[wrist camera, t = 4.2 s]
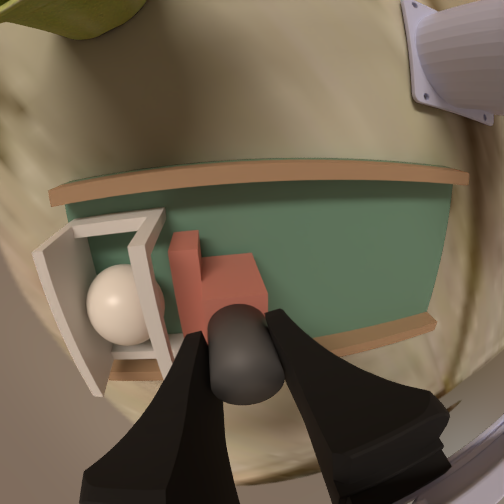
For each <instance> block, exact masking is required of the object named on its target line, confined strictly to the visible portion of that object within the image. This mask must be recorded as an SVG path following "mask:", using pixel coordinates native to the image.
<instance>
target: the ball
mask: <svg viewBox="0 0 504 504" xmlns="http://www.w3.org/2000/svg"><path fill="white" fill-rule="evenodd" d="M156 285H157V290H158V295H159V299H160V304H161V308H162V313H163V317H164V311H165V302H164V296H163V293H162V290H161V288H160V286H159V284H158V283H157V281H156ZM86 307H87V313H88V317H89V319H90V322H91V324H92V325H93V327H94V329H95V330H96V331H97V332H98V333H99V334H100V335H101V336H102V337H103V338H105V339H106V340H108V341H110V342H112V343H114V344H117V345H122V346H132V345H137V344H140V343H143V342H144V341H146V340H148V339H149V338H150V337H149V333H148V330H147V327H146V323H145V319H144V316H143V312H142V308H141V305H140V301H139V297H138V293H137V289H136V285H135V280H134V276H133V272H132V267H131V265H130V264H118V265H114V266H111V267H108V268H106V269H105V270H103V271H102V272H100V273H99V274H98V275H97V276H96V278H95V279H94V280H93V282H92V283H91V285H90V287H89V290H88V293H87V299H86Z"/></svg>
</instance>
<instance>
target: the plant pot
mask: <svg viewBox="0 0 504 504" xmlns="http://www.w3.org/2000/svg"><path fill="white" fill-rule="evenodd" d="M146 1H147V0H0V23H3V22H10V23H15V24H20V25H24V26H28V27H32V28H36V29H40V30H44V31H47V32H51V33H54V34H58V35H61V36H64V37H66V38H70V39H75V40H83V39H90V38H94V37H98V36H100V35H101V34H103V33H105V32H107V31H109V30H111V29H113V28H115V27H117V26H119V25H122V24H124V23H125V22H126V21H128V20H129V19H130V18H132V17H133V16H134V15H135V14H136V13H137V12H138V11H139V10H140V9H141V7H142V6H143V5H144V4H145V2H146Z"/></svg>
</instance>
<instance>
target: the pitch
mask: <svg viewBox="0 0 504 504" xmlns="http://www.w3.org/2000/svg"><path fill="white" fill-rule="evenodd" d="M468 183H469V173H467V172H463V171H460V170H456V169H452V168H448V167H444V166H436V165H428V164H418V163H408V162H396V161H383V160H366V159H342V158H270V159H245V160H227V161H213V162H201V163H190V164H180V165H171V166H162V167H154V168H146V169H139V170H132V171H125V172H119V173H113V174H107V175H101V176H96V177H90V178H85V179H80V180H75V181H70V182H67V183H65V184H63V185H60V186H58V187H55V188H53V189H51V190H49V191H48V192H49V198H50V204H51V207H54V206H59V205H64V204H65V208H66V213H67V218H68V223H69V222H70V221H72V220H73V219H77V218H83V217H90V216H97V215H104V214H111V213H119V212H126V211H134V210H143V209H151V208H160V207H165V212H166V221H165V223H164V225H163V227H162V230H161V232H160V234H159V237H158V239H157V241H156V243H155V246H154V248H153V251H152V253H151V260H152V265H153V270H154V275H155V280H156V281H157V283H158V284H159V286H160V288H161V290H162V293H163V296H164V302H165V311H164V321H165V325H166V329H167V333H168V334H177V333H183V332H182V327H181V322H180V317H179V312H178V307H177V302H176V297H175V292H174V286H173V281H172V275H171V269H170V263H169V257H168V249H169V246H170V242H171V239H172V236H173V233H174V232H181V231H192V230H199V238H200V248H201V257H211V256H222V255H232V254H243V253H252V255H253V257H254V260H255V262H256V265H257V267H258V270H259V272H260V275H261V277H262V280H263V282H264V285H265V287H266V290H267V292H268V312H269V311H273V310H276V309H279V308H280V309H283V310H284V311H285V313H286V314H287V315H288V316H289V317H290V318H291V319H292V320H293V321H294V322H295V323H296V324H297V325H298V326H299V327H300V328H301V329H302V330H303V331H304V332H305V333H307V334H308V335H309V336H310V337H311V338H313V339H314V340H315V341H317V342H318V343H319V344H320V345H322V346H323V347H325V348H326V349H327V350H329V351H330V352H332V353H333V354H335V355H337V356H338V357H342V356H346V355H351V354H355V353H359V352H363V351H367V350H370V349H374V348H378V347H381V346H385V345H389V344H392V343H395V342H399V341H402V340H405V339H409V338H412V337H415V336H418V335H421V334H424V333H427V332H430V331H433V330H434V329H435V326H436V324H437V321H436V320H435V319H434V318H433V317H432V316H431V315H430V314H428V313H427V309H428V305H429V302H430V299H431V295H432V292H433V288H434V284H435V280H436V276H437V272H438V268H439V264H440V260H441V255H442V250H443V246H444V240H445V235H446V230H447V224H448V217H449V211H450V203H451V195H452V186H453V184H459V185H468ZM136 233H137V231H131V232H122V233H114V234H105V235H97V236H89V237H87V238H88V243H89V247H90V251H91V255H92V259H93V263H94V267H95V271H96V275H98V274H99V273H100V272H102V271H103V270H105V269H106V268H108V267H111V266H114V265H118V264H130V265H131V263H130V258H129V253H128V248H127V247H128V245H129V243H130V242H131V240H132V239H133V237H134V236H135V234H136ZM109 380H117V381H148V380H163V377H162V374H161V371H160V368H159V365H158V362H157V359H114V361H113V364H112V368H111V371H110V375H109Z"/></svg>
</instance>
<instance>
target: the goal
mask: <svg viewBox="0 0 504 504" xmlns="http://www.w3.org/2000/svg"><path fill="white" fill-rule="evenodd" d="M165 221H166V212H165V207H160V208H151V209H143V210H134V211H126V212H119V213H111V214H104V215H97V216H90V217H83V218H77V219H73V220H72V221H70V222H69V223H68V224H66V225H65V226H64V227H62V228H61V229H60V230H59V231H57V232H56V233H55V234H53V235H52V236H51V237H50V238H48V239H47V240H46V241H45V242H43V243H42V244H41V245H40V246H38V247H37V248H36V249H35V250H34V251H33V252H32V256H33V259H34V262H35V266H36V269H37V272H38V275H39V278H40V281H41V284H42V287H43V290H44V293H45V296H46V298H47V301H48V304H49V306H50V309H51V311H52V314H53V316H54V319H55V321H56V323H57V326H58V328H59V330H60V332H61V335H62V337H63V339H64V341H65V343H66V346H67V348H68V350H69V352H70V354H71V356H72V358H73V360H74V362H75V364H76V366H77V367H78V369H79V371H80V373H81V375H82V377H83V378H84V380H85V382H86V384H87V386H88V387H89V389H90V391H91V392H92V394H93V396H97V397H104V393H105V389H106V385H107V382H108V378H109V375H110V371H111V368H112V364H113V361H114V359H157V362H158V365H159V368H160V371H161V374H162V377H163V380H164V379H165V377H166V376H167V374H168V372H169V370H170V368H171V366H172V364H173V362H174V359H175V357H176V355H177V353H178V351H179V349H180V346H181V344H182V342H183V340H184V336H183V333H177V334H168V333H167V329H166V325H165V321H164V317H163V313H162V308H161V304H160V299H159V295H158V290H157V285H156V280H155V275H154V270H153V265H152V260H151V253H152V251H153V248H154V246H155V243H156V241H157V239H158V237H159V234H160V232H161V230H162V227H163V225H164V223H165ZM131 231H137V233H136V234H135V236H134V237H133V239H132V240H131V242H130V243H129V245H128V247H127V248H128V253H129V258H130V263H131V267H132V272H133V276H134V280H135V285H136V289H137V293H138V297H139V301H140V305H141V308H142V312H143V316H144V319H145V323H146V327H147V330H148V333H149V337H150V338H149V339H148V340H146V341H144V342H143V343H140V344H137V345H132V346H122V345H117V344H114V343H112V342H110V341H108V340H106V339H105V338H103V337H102V336H101V335H100V334H99V333H98V332H97V331H96V330H95V329H94V327H93V325H92V324H91V322H90V319H89V317H88V313H87V307H86V299H87V293H88V290H89V287H90V285H91V283H92V282H93V280H94V279H95V278H96V276H97V275H96V271H95V267H94V263H93V259H92V255H91V251H90V247H89V243H88V238H87V237H89V236H97V235H105V234H114V233H122V232H131Z"/></svg>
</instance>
